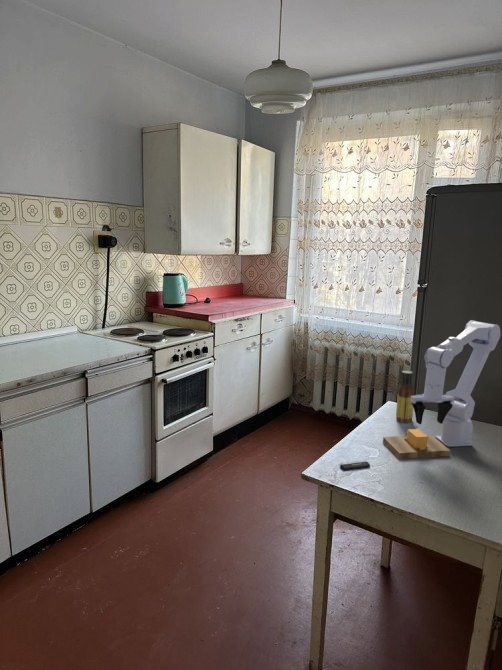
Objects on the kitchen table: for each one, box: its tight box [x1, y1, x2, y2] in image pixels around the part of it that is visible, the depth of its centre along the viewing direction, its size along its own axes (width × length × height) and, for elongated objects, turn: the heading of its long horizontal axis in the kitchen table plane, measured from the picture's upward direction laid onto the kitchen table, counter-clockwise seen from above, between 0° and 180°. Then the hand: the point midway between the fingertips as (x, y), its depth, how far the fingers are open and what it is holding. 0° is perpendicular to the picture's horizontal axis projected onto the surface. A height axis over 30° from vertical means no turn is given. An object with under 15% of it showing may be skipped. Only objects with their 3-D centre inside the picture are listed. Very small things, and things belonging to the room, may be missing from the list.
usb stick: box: [339, 461, 371, 472], centre depth 143 cm, size 10×3×2 cm, turn 106°
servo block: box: [406, 428, 428, 450], centre depth 156 cm, size 4×9×6 cm, turn 9°
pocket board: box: [382, 434, 451, 460], centre depth 156 cm, size 18×12×2 cm, turn 99°
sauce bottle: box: [395, 370, 415, 423], centre depth 179 cm, size 7×6×20 cm
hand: (429, 422), depth 152 cm, fingers open, 7 cm apart
